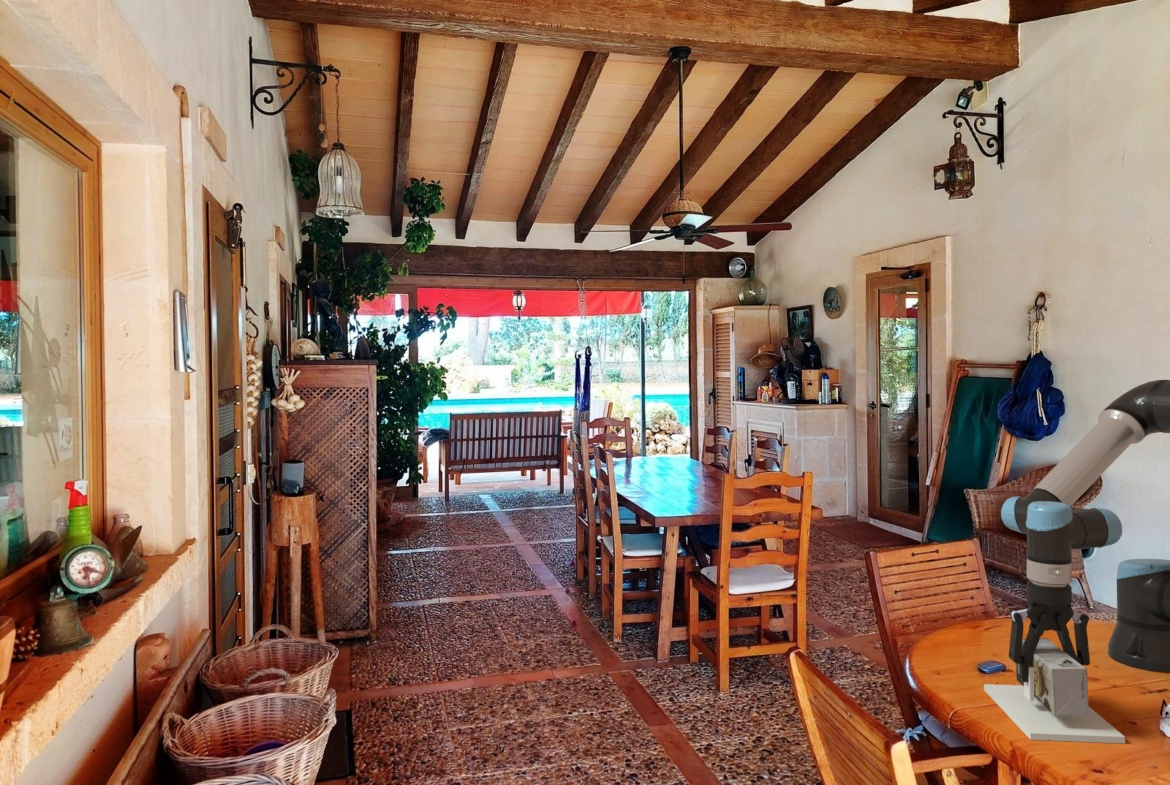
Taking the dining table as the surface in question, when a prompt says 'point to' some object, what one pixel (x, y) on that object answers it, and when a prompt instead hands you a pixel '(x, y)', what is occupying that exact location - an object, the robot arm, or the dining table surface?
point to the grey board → (1050, 719)
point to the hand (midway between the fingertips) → (1048, 698)
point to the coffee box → (1058, 680)
